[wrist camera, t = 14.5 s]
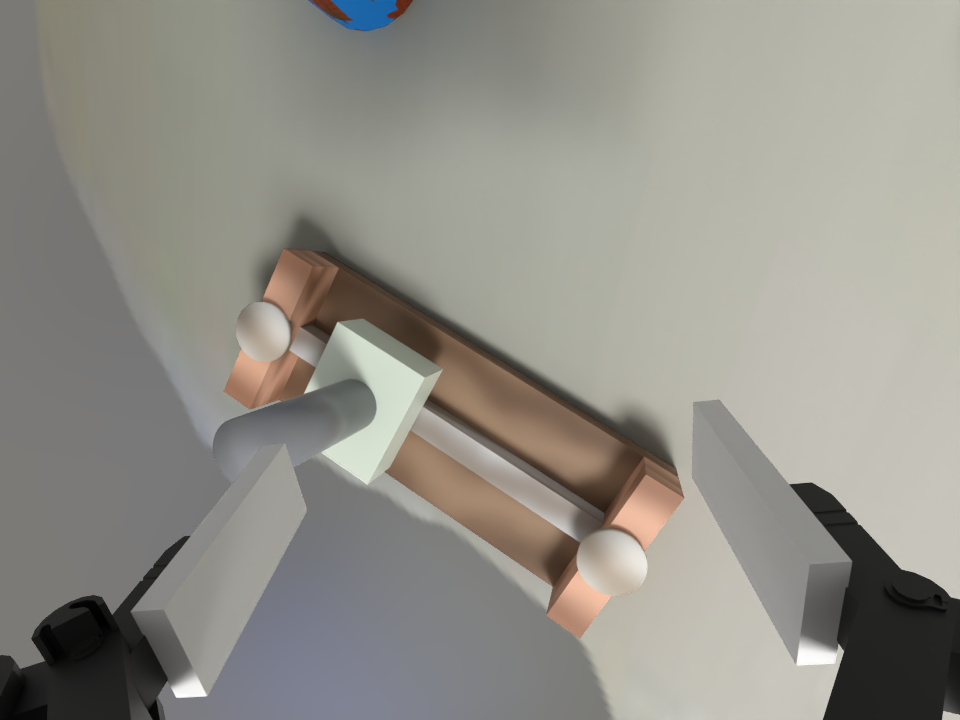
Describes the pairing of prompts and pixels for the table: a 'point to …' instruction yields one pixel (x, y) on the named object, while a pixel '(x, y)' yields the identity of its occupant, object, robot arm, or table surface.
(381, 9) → the thermos
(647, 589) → the table surface
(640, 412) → the table surface
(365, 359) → the carriage
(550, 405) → the rail board
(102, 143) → the table surface
